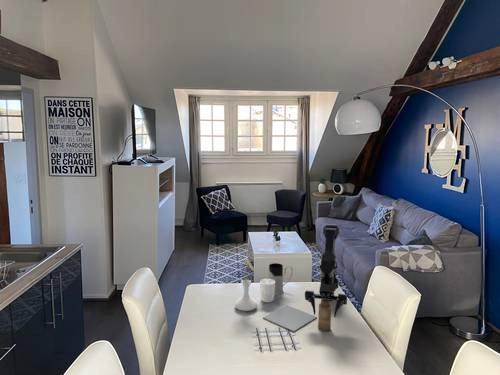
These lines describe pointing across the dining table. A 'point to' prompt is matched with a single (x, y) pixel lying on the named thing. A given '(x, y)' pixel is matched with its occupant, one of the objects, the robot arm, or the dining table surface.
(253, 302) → the flower in vase
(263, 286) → the white cup
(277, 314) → the slate tile
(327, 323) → the pepper mill
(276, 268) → the grey pitcher
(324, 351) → the dining table surface
